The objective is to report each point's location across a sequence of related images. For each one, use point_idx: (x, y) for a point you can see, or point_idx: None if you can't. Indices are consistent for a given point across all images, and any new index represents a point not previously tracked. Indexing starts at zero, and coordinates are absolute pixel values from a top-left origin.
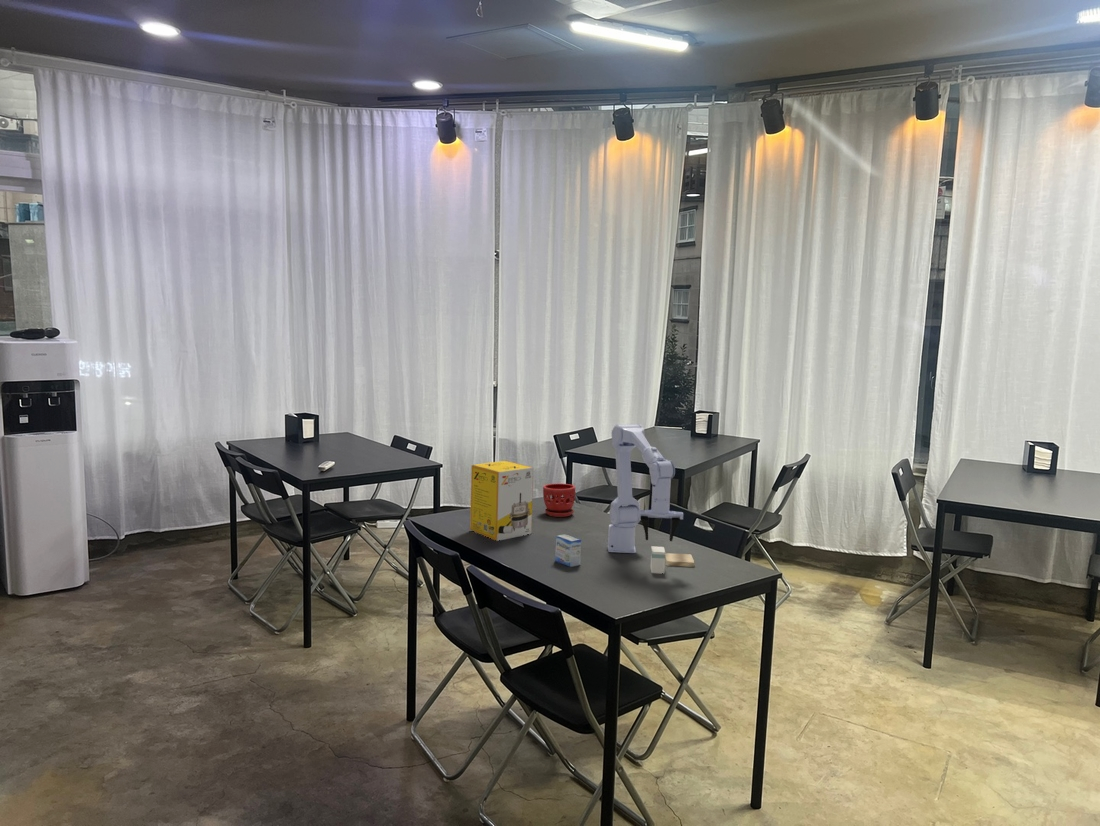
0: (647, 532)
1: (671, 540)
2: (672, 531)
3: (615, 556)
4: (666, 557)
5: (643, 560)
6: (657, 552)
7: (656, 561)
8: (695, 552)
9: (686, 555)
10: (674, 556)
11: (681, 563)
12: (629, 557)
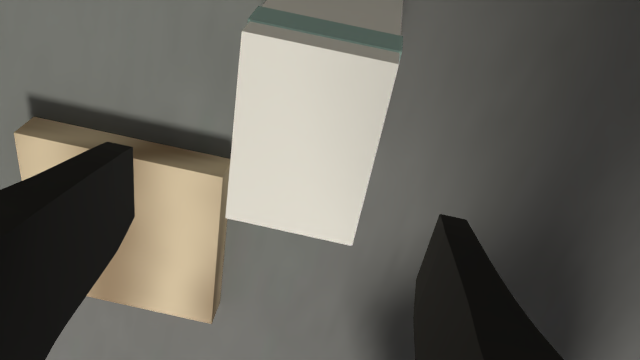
0: (472, 283)
1: (108, 144)
2: (17, 206)
3: None
4: (211, 251)
5: (374, 269)
6: (339, 48)
7: (356, 15)
8: None
9: None
10: (152, 262)
11: None
12: None
